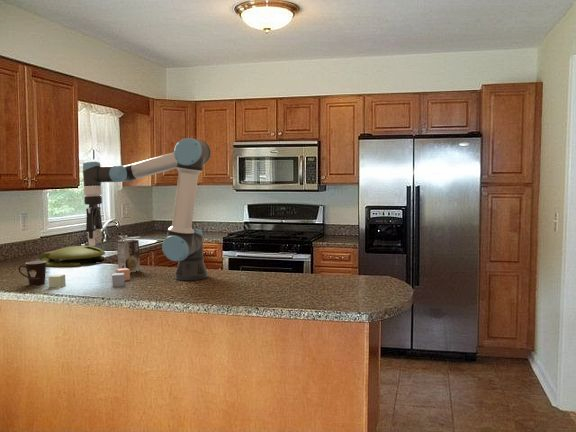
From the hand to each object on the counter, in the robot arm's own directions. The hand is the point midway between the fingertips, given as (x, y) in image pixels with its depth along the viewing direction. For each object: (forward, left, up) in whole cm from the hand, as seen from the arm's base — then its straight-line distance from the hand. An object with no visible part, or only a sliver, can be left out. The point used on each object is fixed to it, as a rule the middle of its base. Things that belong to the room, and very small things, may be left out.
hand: (95, 244), depth 247 cm
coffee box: (-9, -25, -18) cm, 32 cm away
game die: (0, 0, -1) cm, 1 cm away
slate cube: (-12, +9, -18) cm, 23 cm away
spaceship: (+31, -63, -18) cm, 73 cm away
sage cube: (+15, +8, -18) cm, 24 cm away
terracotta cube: (-11, -4, -18) cm, 21 cm away
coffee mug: (+28, 0, -18) cm, 33 cm away
